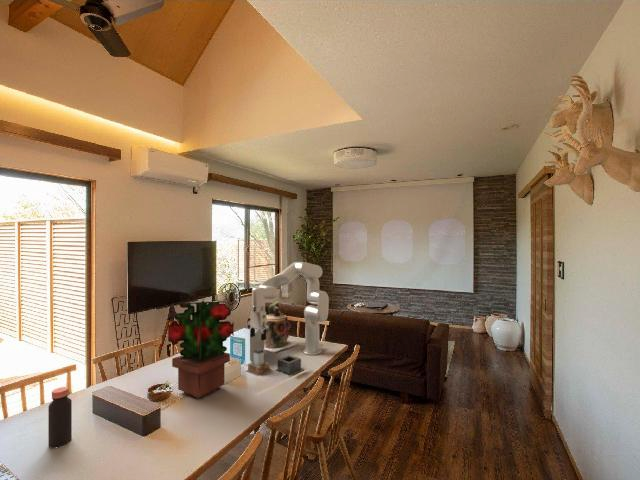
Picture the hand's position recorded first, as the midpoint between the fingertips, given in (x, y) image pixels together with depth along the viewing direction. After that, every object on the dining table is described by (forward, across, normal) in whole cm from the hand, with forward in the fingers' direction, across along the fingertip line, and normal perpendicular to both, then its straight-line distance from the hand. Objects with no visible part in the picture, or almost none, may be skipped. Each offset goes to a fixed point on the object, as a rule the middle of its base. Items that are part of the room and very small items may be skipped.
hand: (257, 338), depth 183 cm
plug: (+19, 0, -1) cm, 19 cm away
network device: (+20, +19, -16) cm, 32 cm away
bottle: (+22, +9, +88) cm, 91 cm away
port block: (+20, -13, -13) cm, 27 cm away
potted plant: (+20, +5, +32) cm, 38 cm away
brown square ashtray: (+20, 0, -1) cm, 20 cm away
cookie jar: (+19, +27, -40) cm, 52 cm away
